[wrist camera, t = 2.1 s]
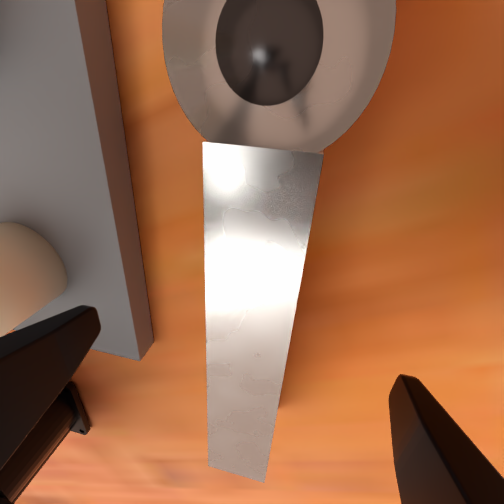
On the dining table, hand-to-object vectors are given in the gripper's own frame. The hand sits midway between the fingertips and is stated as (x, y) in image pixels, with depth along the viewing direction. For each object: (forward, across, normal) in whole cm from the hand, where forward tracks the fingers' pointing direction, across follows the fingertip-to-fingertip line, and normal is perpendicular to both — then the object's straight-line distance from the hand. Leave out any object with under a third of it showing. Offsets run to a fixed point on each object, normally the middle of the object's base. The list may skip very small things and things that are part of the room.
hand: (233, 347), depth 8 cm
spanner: (+5, 0, 0) cm, 5 cm away
